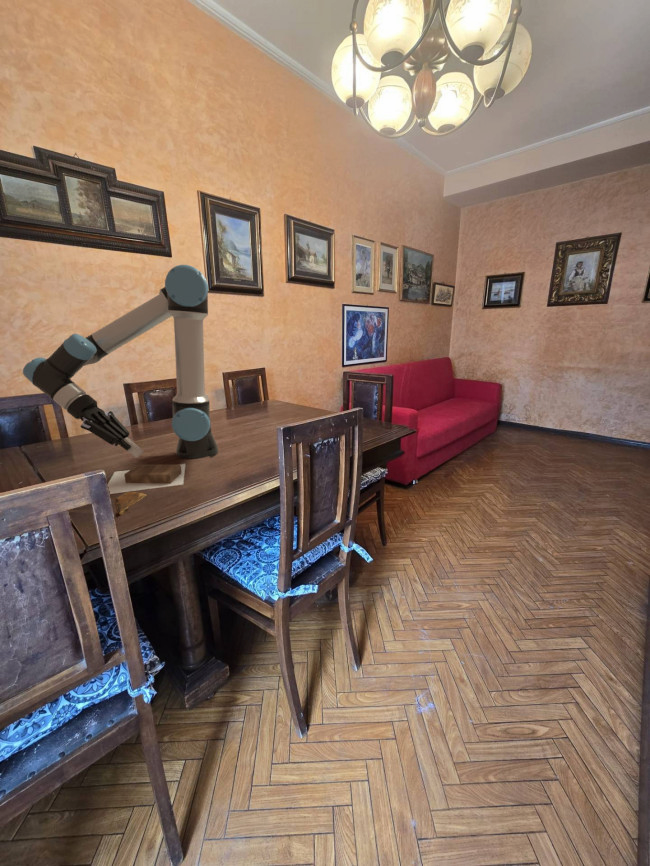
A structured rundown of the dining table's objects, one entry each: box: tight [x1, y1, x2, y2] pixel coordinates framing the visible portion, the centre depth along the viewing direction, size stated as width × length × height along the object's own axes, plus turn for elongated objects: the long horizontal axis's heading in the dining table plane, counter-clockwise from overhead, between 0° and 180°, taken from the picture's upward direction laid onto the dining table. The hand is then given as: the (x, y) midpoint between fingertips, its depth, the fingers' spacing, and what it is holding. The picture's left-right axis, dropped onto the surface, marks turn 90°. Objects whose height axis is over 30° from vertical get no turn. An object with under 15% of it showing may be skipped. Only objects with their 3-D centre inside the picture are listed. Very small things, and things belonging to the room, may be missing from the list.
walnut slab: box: [124, 464, 181, 484], centre depth 111 cm, size 3×8×14 cm
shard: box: [114, 491, 147, 516], centre depth 96 cm, size 11×8×2 cm
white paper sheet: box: [107, 463, 186, 495], centre depth 112 cm, size 22×18×1 cm
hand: (140, 454), depth 109 cm, fingers closed
